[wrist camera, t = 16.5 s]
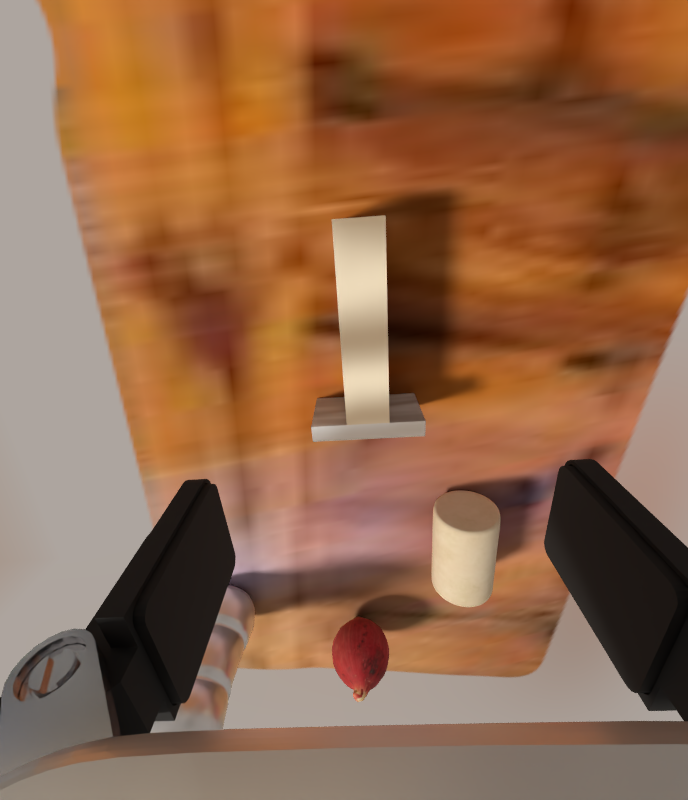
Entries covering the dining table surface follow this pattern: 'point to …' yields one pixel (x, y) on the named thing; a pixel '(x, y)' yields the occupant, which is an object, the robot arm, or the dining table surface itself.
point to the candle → (464, 547)
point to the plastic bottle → (216, 667)
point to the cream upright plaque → (364, 343)
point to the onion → (360, 655)
